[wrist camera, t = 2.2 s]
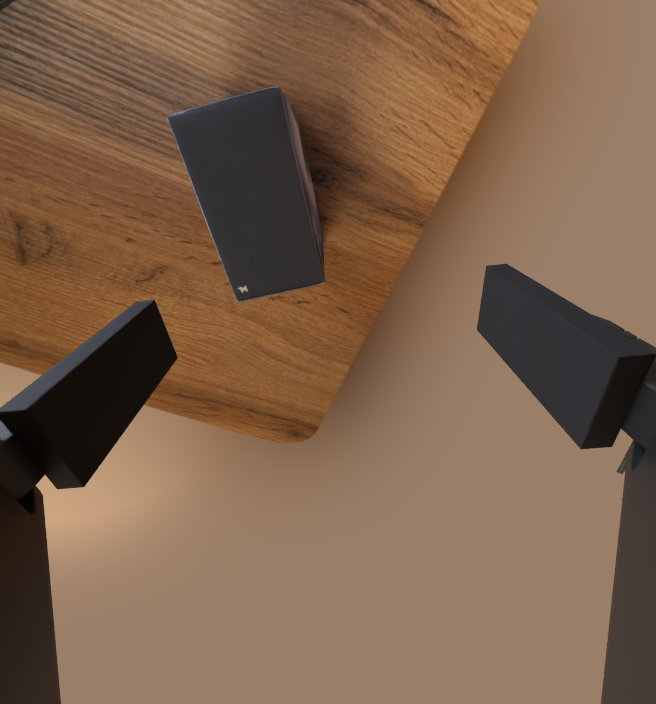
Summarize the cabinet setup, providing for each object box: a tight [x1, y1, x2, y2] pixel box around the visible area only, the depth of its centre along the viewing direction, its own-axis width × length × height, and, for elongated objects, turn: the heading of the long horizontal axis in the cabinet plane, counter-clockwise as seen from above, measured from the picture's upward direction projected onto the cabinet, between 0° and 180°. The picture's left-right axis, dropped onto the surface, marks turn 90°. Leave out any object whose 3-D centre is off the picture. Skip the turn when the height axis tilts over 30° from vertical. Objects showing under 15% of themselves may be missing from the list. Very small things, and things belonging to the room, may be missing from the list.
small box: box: [167, 86, 325, 302], centre depth 23 cm, size 11×6×10 cm, turn 12°
